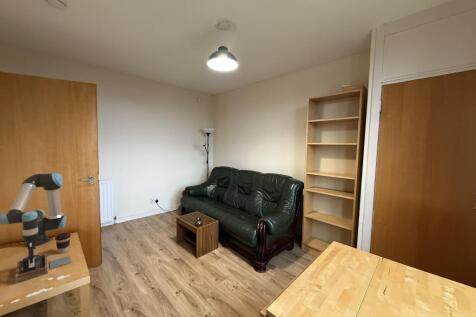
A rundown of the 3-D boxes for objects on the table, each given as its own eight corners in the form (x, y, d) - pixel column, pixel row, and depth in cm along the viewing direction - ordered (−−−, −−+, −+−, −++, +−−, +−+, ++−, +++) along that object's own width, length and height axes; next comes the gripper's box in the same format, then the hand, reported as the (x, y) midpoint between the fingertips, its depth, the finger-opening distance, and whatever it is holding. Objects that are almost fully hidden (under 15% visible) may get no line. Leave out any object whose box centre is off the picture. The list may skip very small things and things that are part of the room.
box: (42, 268, 149) (41, 254, 148) (35, 273, 144) (34, 258, 143) (30, 268, 148) (29, 254, 148) (23, 273, 143) (22, 259, 142)
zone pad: (49, 262, 156) (49, 261, 156) (69, 256, 165) (69, 255, 165) (50, 269, 148) (50, 268, 148) (71, 263, 156) (71, 262, 156)
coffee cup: (53, 252, 170) (52, 235, 169) (67, 247, 179) (67, 230, 177) (59, 255, 165) (58, 238, 164) (73, 250, 174) (72, 233, 173)
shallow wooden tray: (18, 267, 149) (17, 261, 148) (47, 259, 159) (46, 253, 159) (15, 283, 133) (15, 276, 132) (47, 273, 143) (47, 267, 143)
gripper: (24, 229, 150) (25, 257, 151) (21, 241, 132) (23, 273, 134) (38, 227, 155) (39, 253, 157) (37, 238, 137) (39, 268, 139)
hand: (32, 262), depth 145 cm, fingers open, 13 cm apart
